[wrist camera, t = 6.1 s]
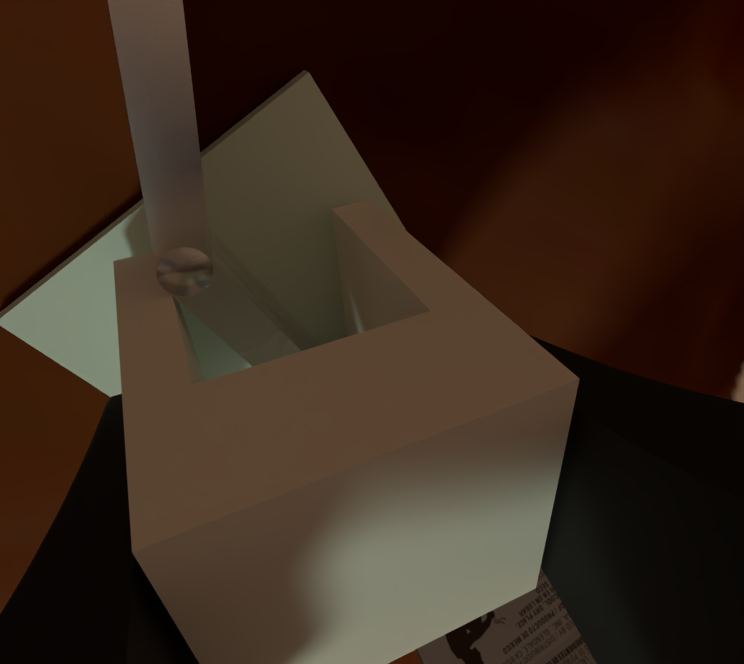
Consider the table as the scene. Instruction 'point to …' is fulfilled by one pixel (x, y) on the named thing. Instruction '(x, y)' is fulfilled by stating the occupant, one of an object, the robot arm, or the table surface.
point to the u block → (342, 463)
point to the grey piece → (188, 189)
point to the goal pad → (234, 227)
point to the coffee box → (514, 634)
